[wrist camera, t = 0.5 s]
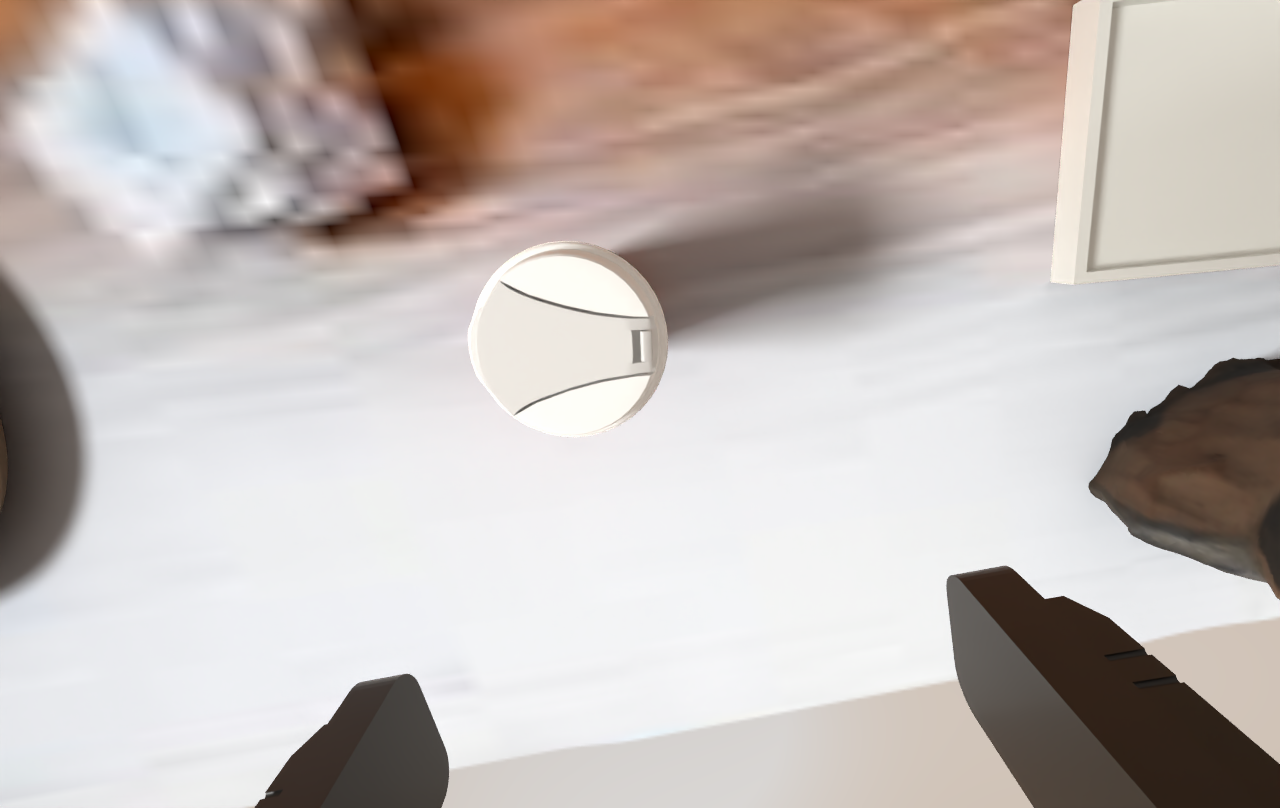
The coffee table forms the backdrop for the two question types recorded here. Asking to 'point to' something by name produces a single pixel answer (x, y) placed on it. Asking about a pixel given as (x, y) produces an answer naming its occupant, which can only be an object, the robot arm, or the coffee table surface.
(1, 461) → the plant saucer
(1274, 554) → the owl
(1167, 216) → the cream tray
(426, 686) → the coffee table surface
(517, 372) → the paper cup
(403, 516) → the coffee table surface
